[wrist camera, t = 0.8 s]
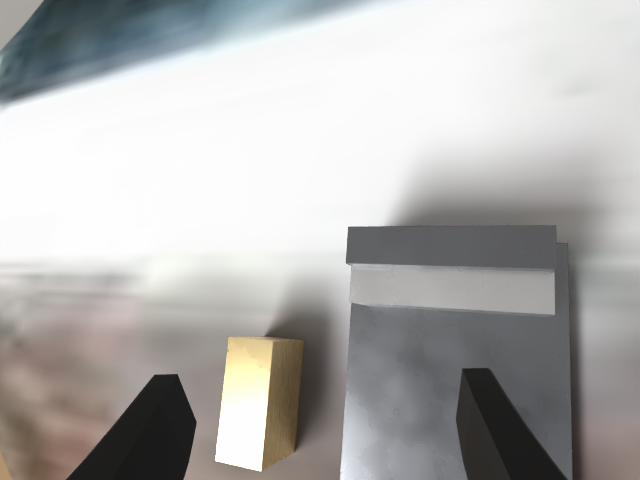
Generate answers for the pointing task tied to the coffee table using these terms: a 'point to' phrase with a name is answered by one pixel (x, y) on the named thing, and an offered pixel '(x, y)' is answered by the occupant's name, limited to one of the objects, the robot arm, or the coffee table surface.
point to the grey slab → (452, 342)
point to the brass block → (259, 401)
